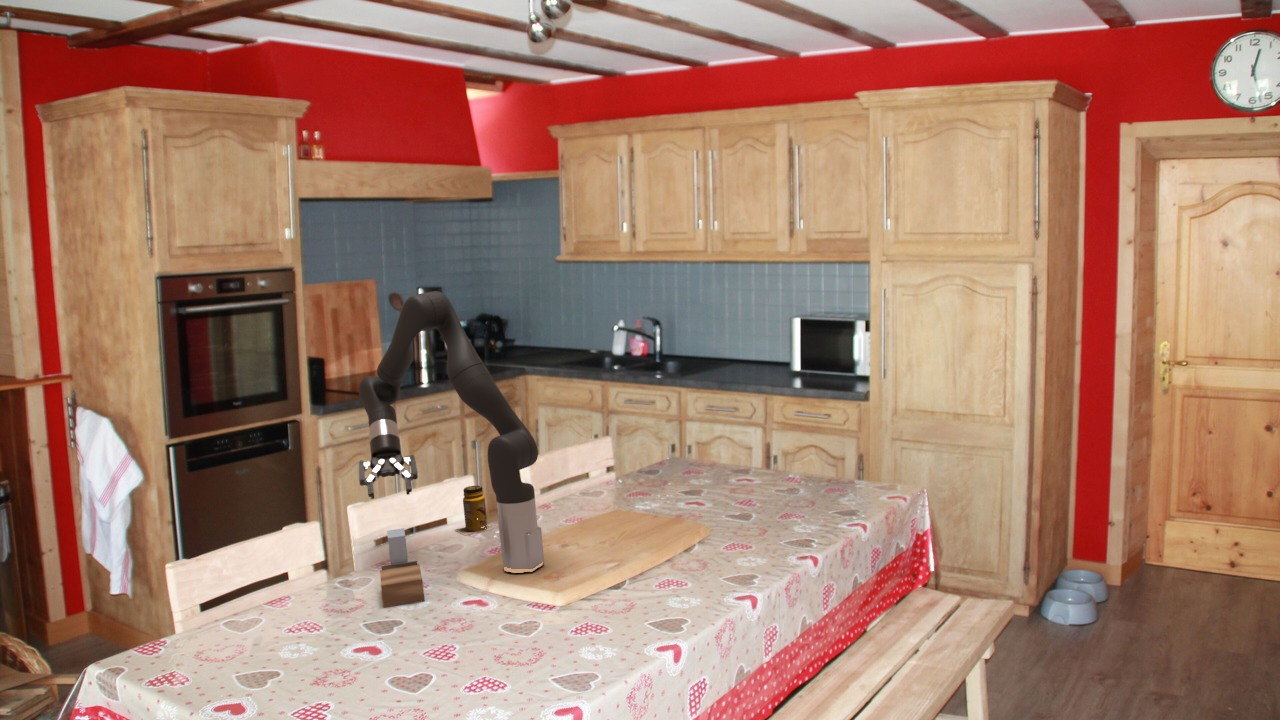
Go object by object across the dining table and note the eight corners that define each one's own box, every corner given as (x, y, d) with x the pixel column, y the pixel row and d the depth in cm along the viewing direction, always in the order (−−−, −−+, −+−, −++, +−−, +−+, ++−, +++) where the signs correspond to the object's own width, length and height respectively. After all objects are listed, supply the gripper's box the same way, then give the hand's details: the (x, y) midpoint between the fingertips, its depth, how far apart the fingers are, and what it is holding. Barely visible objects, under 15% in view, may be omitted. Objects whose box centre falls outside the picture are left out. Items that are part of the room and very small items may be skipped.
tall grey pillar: (392, 578, 252) (387, 530, 251) (409, 576, 253) (403, 528, 252) (393, 587, 246) (387, 538, 244) (410, 584, 247) (405, 535, 245)
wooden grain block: (381, 580, 251) (378, 557, 250) (419, 575, 253) (416, 551, 253) (383, 607, 232) (380, 582, 231) (424, 600, 234) (421, 575, 234)
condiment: (493, 529, 290) (489, 487, 289) (465, 535, 285) (460, 493, 284) (482, 524, 296) (478, 483, 295) (454, 530, 291) (450, 488, 290)
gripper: (355, 436, 263) (359, 490, 253) (412, 429, 266) (419, 483, 257) (357, 452, 268) (361, 506, 259) (413, 446, 272) (420, 499, 263)
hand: (390, 495), depth 258 cm, fingers open, 8 cm apart
